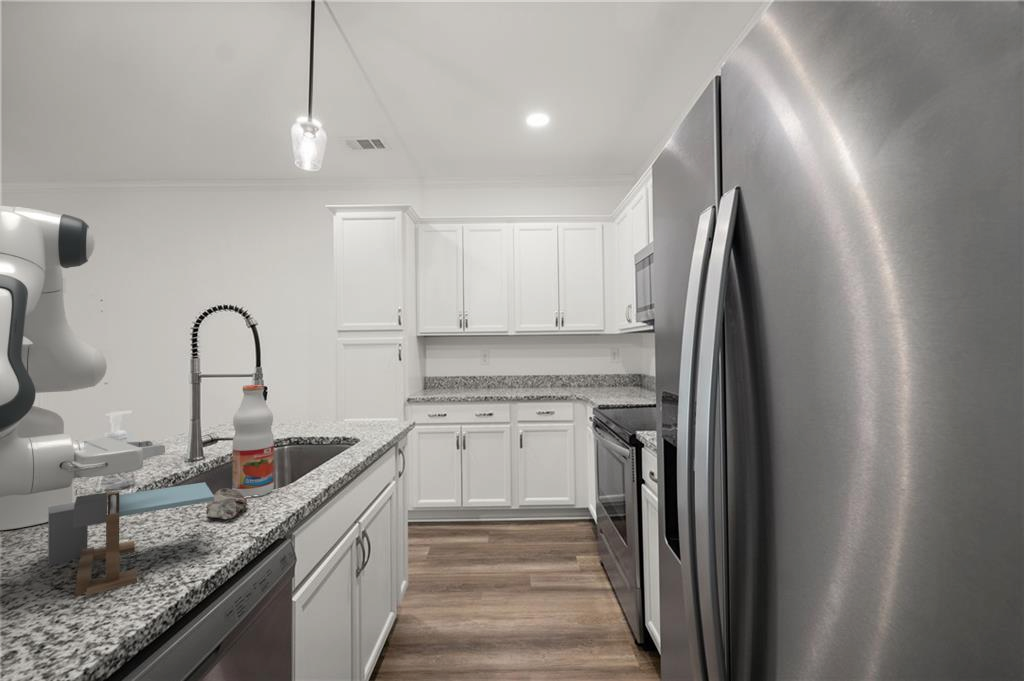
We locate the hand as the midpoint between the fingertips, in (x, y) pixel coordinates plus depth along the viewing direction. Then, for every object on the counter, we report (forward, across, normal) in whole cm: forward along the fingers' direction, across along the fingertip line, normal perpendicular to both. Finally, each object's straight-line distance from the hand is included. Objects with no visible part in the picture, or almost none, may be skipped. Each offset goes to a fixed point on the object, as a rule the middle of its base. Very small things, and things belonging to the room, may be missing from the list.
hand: (157, 447), depth 86 cm
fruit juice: (+27, +22, +19) cm, 40 cm away
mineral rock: (+17, +12, +20) cm, 28 cm away
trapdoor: (-2, -2, +11) cm, 11 cm away
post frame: (-7, -1, +19) cm, 21 cm away
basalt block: (-10, +11, +19) cm, 25 cm away
